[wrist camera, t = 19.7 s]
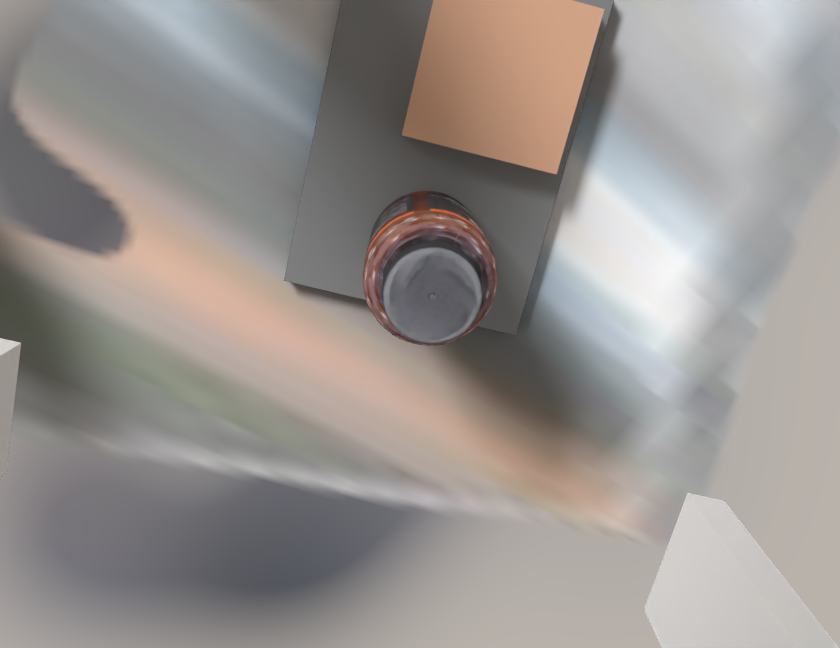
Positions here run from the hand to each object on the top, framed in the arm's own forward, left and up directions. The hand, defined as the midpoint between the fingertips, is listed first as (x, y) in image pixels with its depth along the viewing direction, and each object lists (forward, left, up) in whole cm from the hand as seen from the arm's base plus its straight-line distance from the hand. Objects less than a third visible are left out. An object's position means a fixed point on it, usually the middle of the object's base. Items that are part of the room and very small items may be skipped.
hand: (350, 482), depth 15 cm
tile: (-10, -1, -27) cm, 29 cm away
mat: (-6, +2, -29) cm, 29 cm away
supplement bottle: (0, +2, -28) cm, 28 cm away
